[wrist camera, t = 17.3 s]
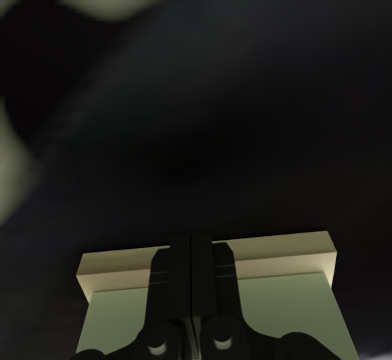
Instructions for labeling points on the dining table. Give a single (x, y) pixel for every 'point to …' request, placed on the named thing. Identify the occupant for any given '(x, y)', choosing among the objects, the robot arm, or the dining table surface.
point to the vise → (242, 248)
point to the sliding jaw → (251, 309)
